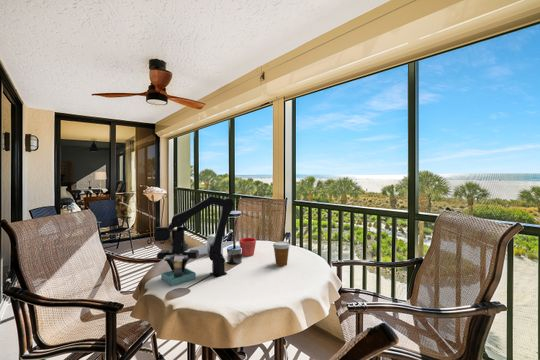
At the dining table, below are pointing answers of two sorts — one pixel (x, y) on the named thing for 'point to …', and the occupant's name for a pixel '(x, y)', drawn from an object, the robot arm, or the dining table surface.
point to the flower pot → (247, 246)
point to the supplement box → (210, 240)
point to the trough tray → (173, 281)
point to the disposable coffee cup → (281, 252)
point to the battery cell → (178, 268)
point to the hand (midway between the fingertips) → (178, 271)
